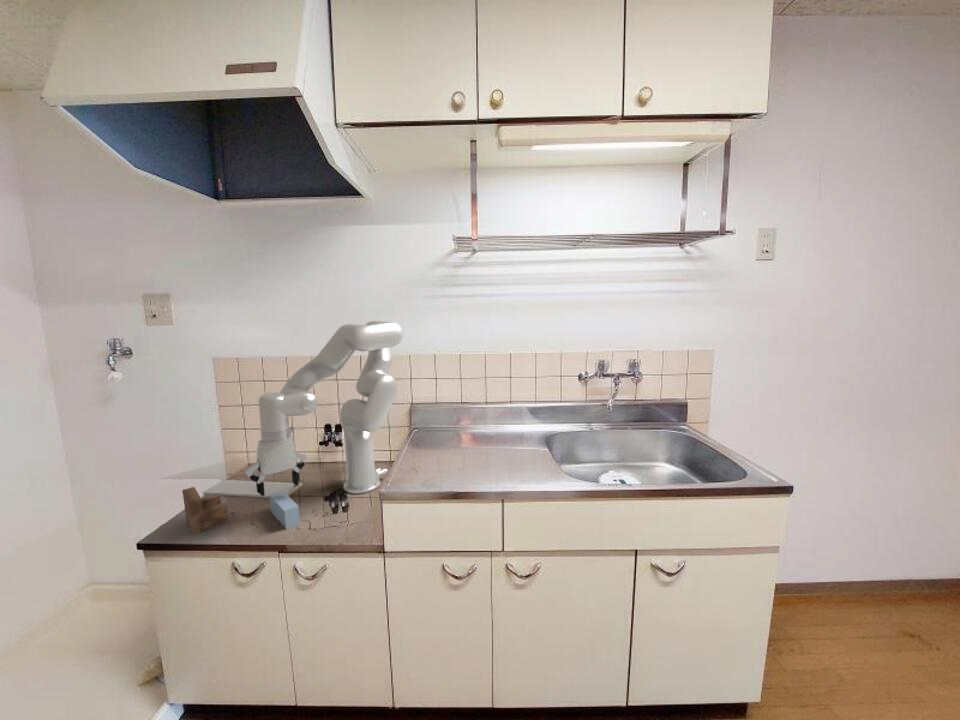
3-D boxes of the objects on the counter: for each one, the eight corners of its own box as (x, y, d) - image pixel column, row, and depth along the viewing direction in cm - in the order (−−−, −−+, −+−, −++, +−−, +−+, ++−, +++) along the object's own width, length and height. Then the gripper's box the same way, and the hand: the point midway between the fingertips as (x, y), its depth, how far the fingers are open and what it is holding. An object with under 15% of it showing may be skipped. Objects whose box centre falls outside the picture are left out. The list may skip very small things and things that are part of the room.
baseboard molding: (229, 480, 152) (203, 496, 140) (228, 473, 152) (202, 488, 140) (306, 484, 148) (286, 500, 136) (305, 476, 148) (285, 492, 136)
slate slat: (284, 507, 131) (282, 490, 130) (300, 524, 121) (298, 505, 120) (270, 512, 128) (268, 494, 128) (286, 529, 119) (284, 511, 118)
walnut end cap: (220, 509, 130) (216, 480, 129) (228, 521, 123) (224, 491, 121) (186, 520, 124) (182, 490, 123) (193, 534, 117) (188, 502, 115)
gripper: (300, 426, 129) (303, 477, 131) (239, 438, 117) (243, 494, 119) (309, 431, 124) (312, 484, 126) (246, 444, 112) (251, 503, 114)
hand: (279, 489), depth 123 cm, fingers open, 9 cm apart
